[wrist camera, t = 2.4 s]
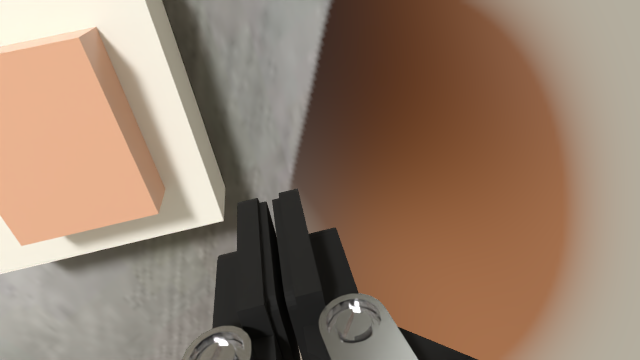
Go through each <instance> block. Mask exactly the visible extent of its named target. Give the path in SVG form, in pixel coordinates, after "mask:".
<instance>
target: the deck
mask: <svg viewBox="0 0 640 360" xmlns="http://www.w3.org/2000/svg"><path fill="white" fill-rule="evenodd" d="M92 27H97V30H98V32H99V34H100V37H101V39H102V41H103V44H104V46H105V48H106V51H107V53H108V56H109V58H110V60H111V63H112V65H113V67H114V70H115V72H116V74H117V77H118V79H119V81H120V84H121V86H122V88H123V91H124V93H125V95H126V98H127V100H128V102H129V105H130V107H131V109H132V112H133V114H134V116H135V119H136V121H137V123H138V126H139V128H140V131H141V133H142V135H143V138H144V140H145V142H146V145H147V147H148V149H149V152H150V154H151V156H152V159H153V161H154V163H155V166H156V168H157V170H158V173H159V175H160V177H161V180H162V182H163V184H164V187H165V189H166V190H165V193H164V197H163V200H162V204H161V207H160V211H159V214H156V215H152V216H147V217H143V218H139V219H135V220H130V221H126V222H122V223H118V224H113V225H109V226H105V227H101V228H96V229H92V230H88V231H84V232H79V233H75V234H71V235H66V236H62V237H58V238H54V239H49V240H45V241H41V242H37V243H32V244H28V245H24V246H21V245H20V243H19V242H18V240H17V239H16V237H15V236H14V235H13V233H12V232H11V230H10V229H9V227H8V226H7V225H6V223H5V222H4V220H3V219H2V217H1V216H0V274H2V273H7V272H11V271H15V270H19V269H23V268H28V267H32V266H36V265H40V264H44V263H49V262H53V261H57V260H61V259H65V258H70V257H74V256H78V255H82V254H86V253H91V252H95V251H99V250H103V249H107V248H112V247H116V246H120V245H124V244H128V243H133V242H137V241H141V240H145V239H149V238H154V237H158V236H162V235H166V234H171V233H175V232H179V231H183V230H187V229H192V228H196V227H200V226H204V225H208V224H213V223H217V222H221V221H224V206H225V185H224V182H223V179H222V176H221V173H220V170H219V167H218V165H217V162H216V159H215V156H214V153H213V150H212V147H211V144H210V141H209V138H208V135H207V132H206V129H205V126H204V123H203V120H202V117H201V114H200V111H199V108H198V105H197V102H196V99H195V96H194V93H193V91H192V88H191V85H190V82H189V79H188V76H187V73H186V70H185V67H184V64H183V61H182V58H181V55H180V52H179V49H178V46H177V43H176V40H175V37H174V34H173V31H172V28H171V25H170V22H169V19H168V16H167V14H166V11H165V8H164V5H163V2H162V0H0V46H4V45H9V44H14V43H19V42H24V41H29V40H34V39H39V38H44V37H48V36H53V35H58V34H63V33H68V32H73V31H78V30H83V29H87V28H92Z"/></svg>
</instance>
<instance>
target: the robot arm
mask: <svg viewBox="0 0 640 360" xmlns="http://www.w3.org/2000/svg"><path fill="white" fill-rule="evenodd" d="M272 203H273V211H274V219H275V227H276V233H275V229H274V226H273V222H272V219H271V215H270V212H269V208H268V205H267V202H261V203H259V200H258V198H256V199H251V200H247V201H243V202H239V203H238V206H237V251H236V252H232V253H227V254H223V255H219V257H218V261H217V273H216V287H215V300H214V314H213V328H212V329H211V330H209V331H207V332H205V333H203V334H201V335H200V336H199V337H198V338H196V339H195V340H194V341H193V342H192V343H191V345H190V346H189V347H188V348H187V349H186V352H185V354H184V356H183V358H182V360H300V353H301V356H302V359H303V360H477V359H475V358H472V357H470V356H468V355H465V354H463V353H460V352H458V351H455V350H453V349H451V348H448V347H446V346H443V345H441V344H438V343H436V342H434V341H431V340H429V339H426V338H424V337H421V336H419V335H417V334H414V333H412V332H409V331H407V330H404V329H402V328H399V327H397V325H396V324H395V322H394V321H393V319H392V318H391V316H390V314H389V313H388V311H387V310H386V308H385V307H384V306H383V304H382V303H381V302H380V301H379V300H377V299H375V298H373V297H372V296H369V295H365V294H359V293H358V290H357V287H356V284H355V282H354V279H353V276H352V273H351V270H350V267H349V264H348V261H347V258H346V256H345V253H344V250H343V247H342V244H341V241H340V238H339V235H338V232H337V230H336V228H331V229H327V230H322V231H319V232H314V233H311V234H308V230H307V226H306V221H305V217H304V213H303V209H302V205H301V201H300V196H299V192H298V189H294V190H290V191H285V192H281V193H279V198H278V199H274V200H272ZM276 235H277V237H276ZM298 346H299V347H298ZM299 349H300V353H299Z"/></svg>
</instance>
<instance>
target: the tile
mask: <svg viewBox="0 0 640 360" xmlns="http://www.w3.org/2000/svg"><path fill="white" fill-rule="evenodd" d="M165 190H166V189H165V187H164V184H163V182H162V180H161V177H160V175H159V173H158V170H157V168H156V166H155V163H154V161H153V159H152V156H151V154H150V152H149V149H148V147H147V145H146V142H145V140H144V138H143V135H142V133H141V131H140V128H139V126H138V123H137V121H136V119H135V116H134V114H133V112H132V109H131V107H130V105H129V102H128V100H127V98H126V95H125V93H124V91H123V88H122V86H121V84H120V81H119V79H118V77H117V74H116V72H115V70H114V67H113V65H112V63H111V60H110V58H109V56H108V53H107V51H106V48H105V46H104V44H103V41H102V39H101V37H100V34H99V32H98V30H97V27H92V28H87V29H83V30H78V31H73V32H68V33H63V34H58V35H53V36H48V37H44V38H39V39H34V40H29V41H24V42H19V43H14V44H9V45H4V46H0V216H1V217H2V219H3V220H4V222H5V223H6V225H7V226H8V227H9V229H10V230H11V232H12V233H13V235H14V236H15V237H16V239H17V240H18V242H19V243H20V245H21V246H24V245H28V244H32V243H37V242H41V241H45V240H49V239H54V238H58V237H62V236H66V235H71V234H75V233H79V232H84V231H88V230H92V229H96V228H101V227H105V226H109V225H113V224H118V223H122V222H126V221H130V220H135V219H139V218H143V217H147V216H152V215H156V214H159V211H160V207H161V204H162V200H163V197H164V193H165Z"/></svg>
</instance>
